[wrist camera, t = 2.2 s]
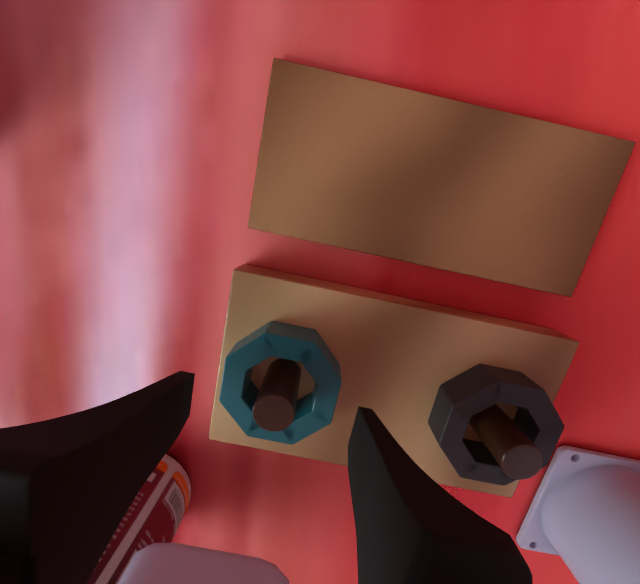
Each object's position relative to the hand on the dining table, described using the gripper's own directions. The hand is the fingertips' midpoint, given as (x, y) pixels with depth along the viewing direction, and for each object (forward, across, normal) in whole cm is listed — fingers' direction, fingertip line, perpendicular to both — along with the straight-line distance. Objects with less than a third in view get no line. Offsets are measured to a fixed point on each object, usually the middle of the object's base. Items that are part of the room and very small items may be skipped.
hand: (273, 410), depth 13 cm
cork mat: (+5, -6, -11) cm, 13 cm away
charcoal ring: (+3, -11, 0) cm, 11 cm away
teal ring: (+3, 0, 0) cm, 3 cm away
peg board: (+5, -6, 0) cm, 8 cm away
